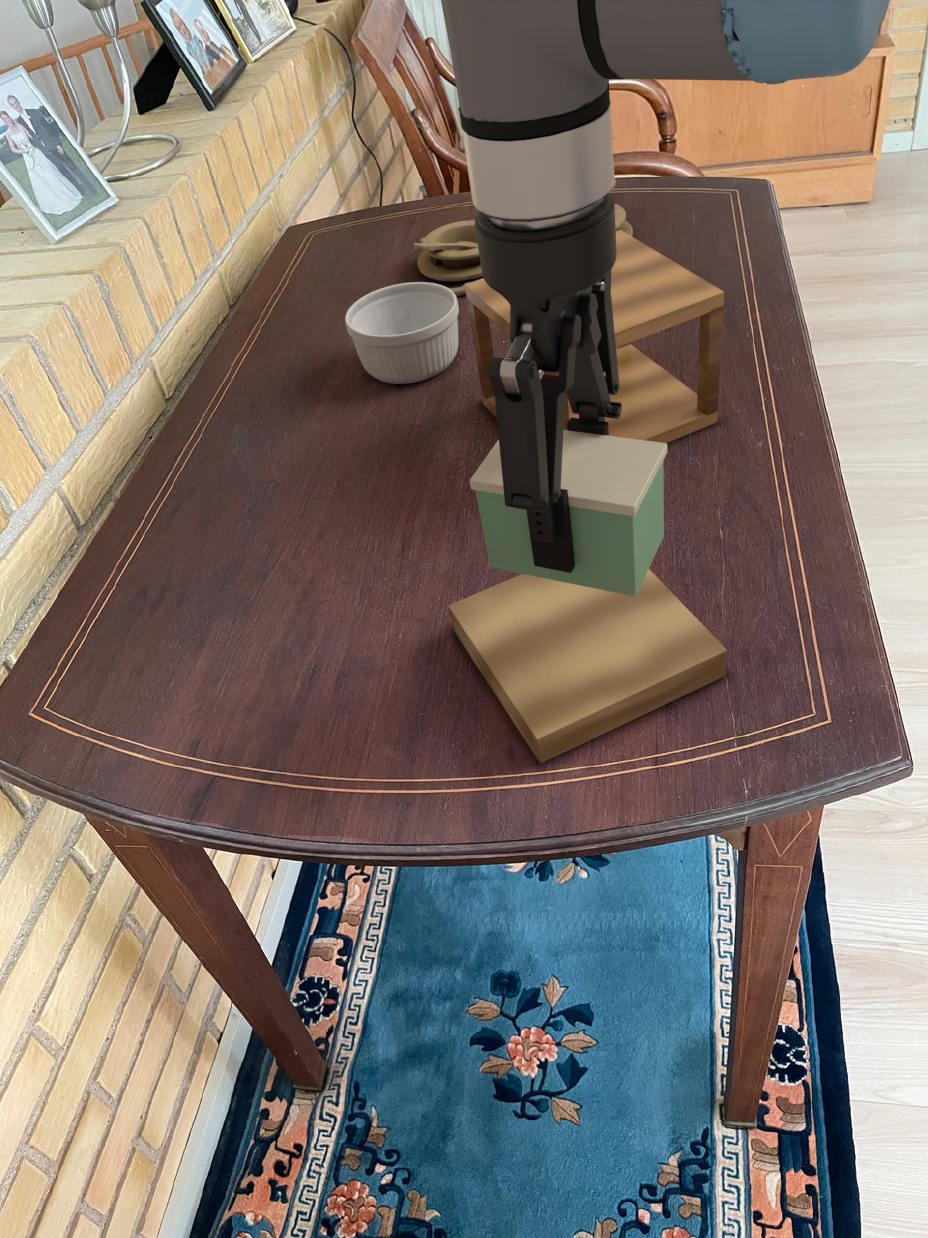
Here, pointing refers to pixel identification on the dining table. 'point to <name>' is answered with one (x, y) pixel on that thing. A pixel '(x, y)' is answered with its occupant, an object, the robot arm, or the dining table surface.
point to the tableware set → (467, 250)
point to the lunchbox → (586, 512)
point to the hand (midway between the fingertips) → (574, 530)
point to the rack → (641, 306)
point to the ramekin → (405, 331)
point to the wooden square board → (583, 655)
